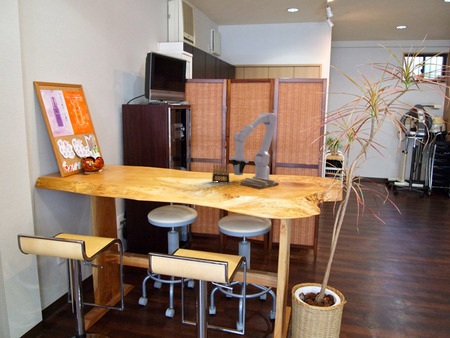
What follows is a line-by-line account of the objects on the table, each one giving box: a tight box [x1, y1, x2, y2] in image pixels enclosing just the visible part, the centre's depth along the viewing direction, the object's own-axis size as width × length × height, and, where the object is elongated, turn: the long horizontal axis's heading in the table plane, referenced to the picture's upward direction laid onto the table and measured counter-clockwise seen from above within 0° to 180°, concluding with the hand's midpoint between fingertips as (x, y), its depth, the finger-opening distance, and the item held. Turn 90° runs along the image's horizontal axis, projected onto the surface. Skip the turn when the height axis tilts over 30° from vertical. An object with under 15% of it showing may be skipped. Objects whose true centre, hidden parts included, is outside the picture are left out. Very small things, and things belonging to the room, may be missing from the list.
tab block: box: [233, 164, 244, 176], centre depth 240 cm, size 4×4×6 cm
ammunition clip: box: [211, 162, 230, 183], centre depth 234 cm, size 11×2×12 cm, turn 80°
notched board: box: [239, 175, 280, 190], centre depth 231 cm, size 18×16×4 cm
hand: (238, 172), depth 240 cm, fingers closed on tab block, 4 cm apart
